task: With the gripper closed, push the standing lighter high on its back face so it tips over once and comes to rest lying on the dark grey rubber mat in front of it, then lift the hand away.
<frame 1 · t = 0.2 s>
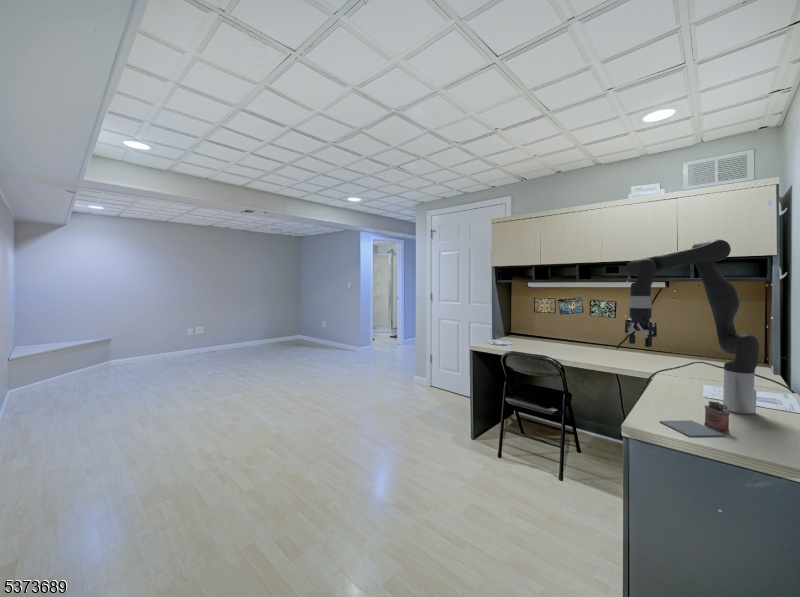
hand: (639, 345, 139), 29 cm above the table, tool pointing down, fingers open, 8 cm apart
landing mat: (690, 429, 124), on the table
lighter: (716, 429, 125), on the table
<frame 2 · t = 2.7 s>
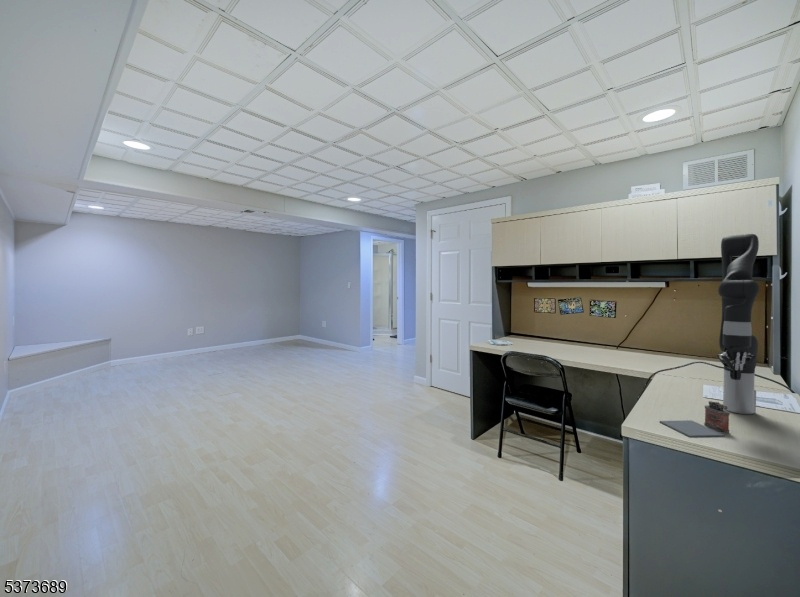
hand: (735, 379, 124), 19 cm above the table, tool pointing down, fingers closed
nothing on the table moved.
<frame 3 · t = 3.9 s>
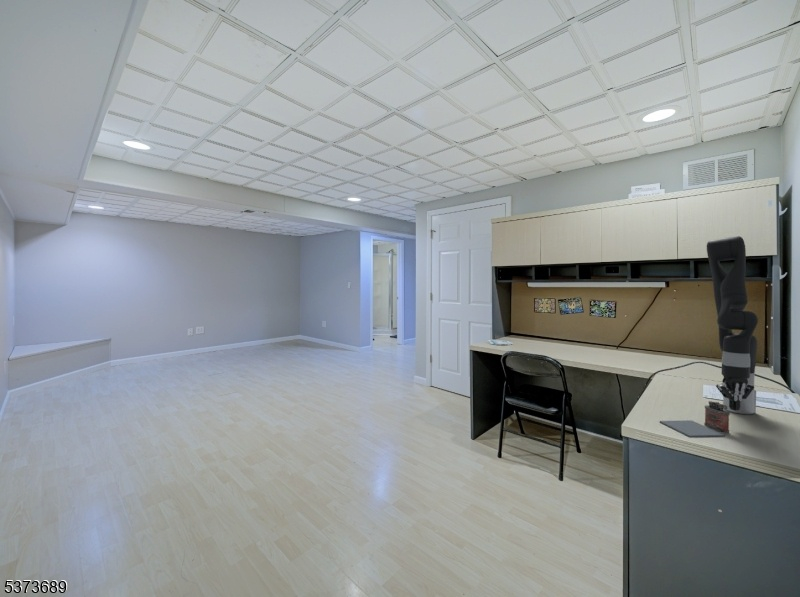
hand: (734, 409, 125), 7 cm above the table, tool pointing down, fingers closed
nothing on the table moved.
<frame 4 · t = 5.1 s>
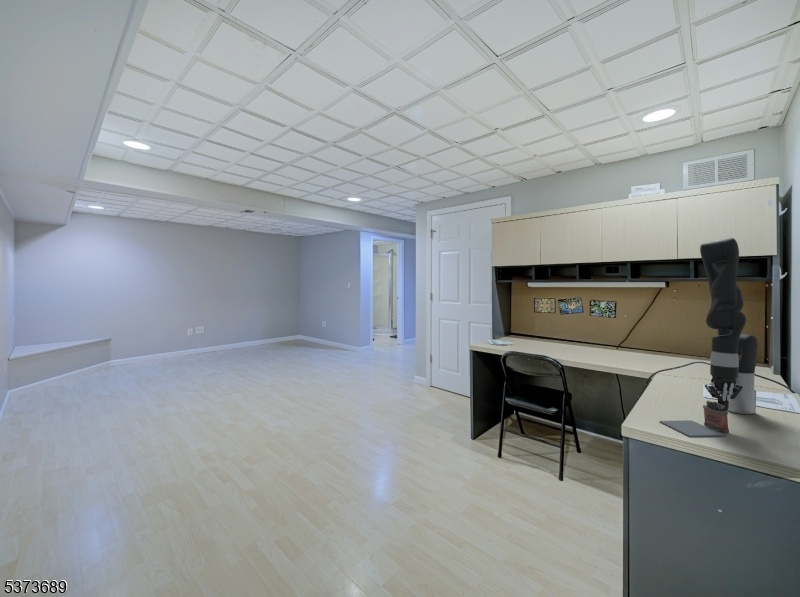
hand: (722, 409, 124), 7 cm above the table, tool pointing down, fingers closed
lighter: (716, 428, 125), on the table, touching gripper
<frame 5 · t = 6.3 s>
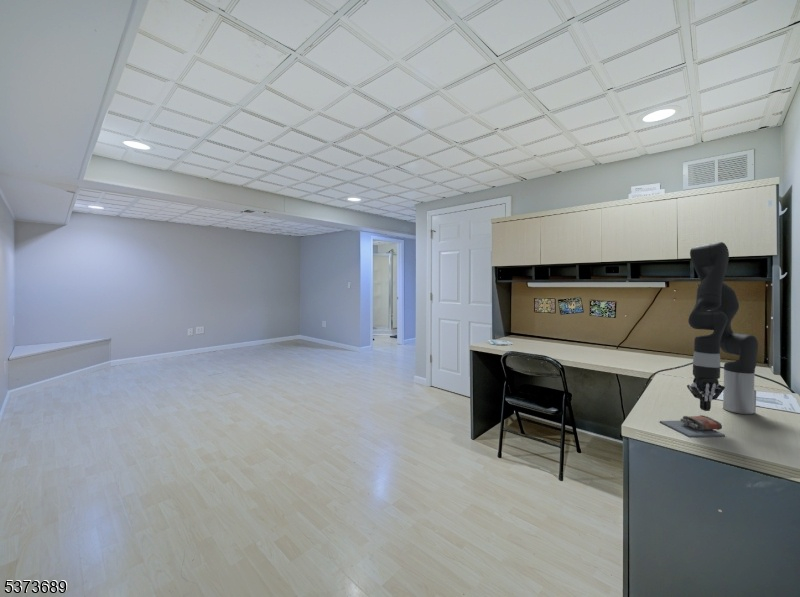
hand: (705, 410, 124), 7 cm above the table, tool pointing down, fingers closed
lighter: (711, 422, 125), point 2 cm above the table, touching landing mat
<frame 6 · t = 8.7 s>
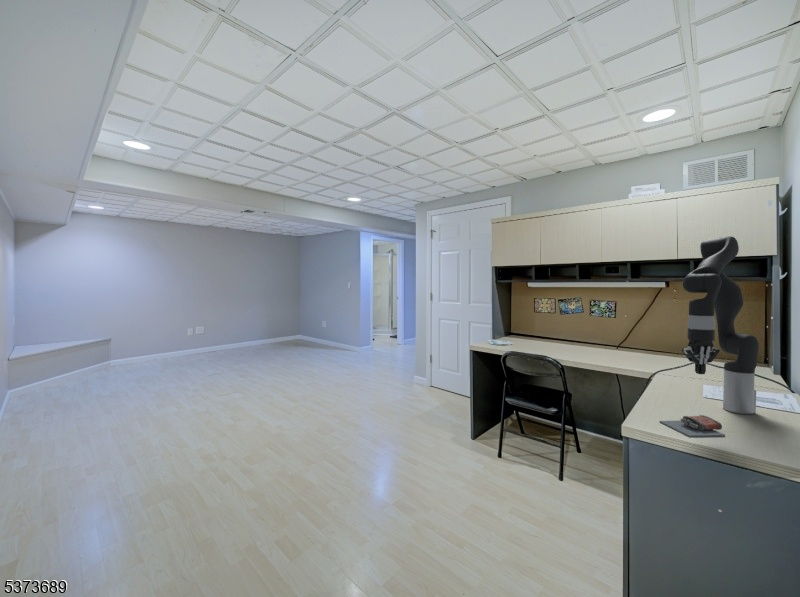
hand: (700, 373, 124), 21 cm above the table, tool pointing down, fingers closed
nothing on the table moved.
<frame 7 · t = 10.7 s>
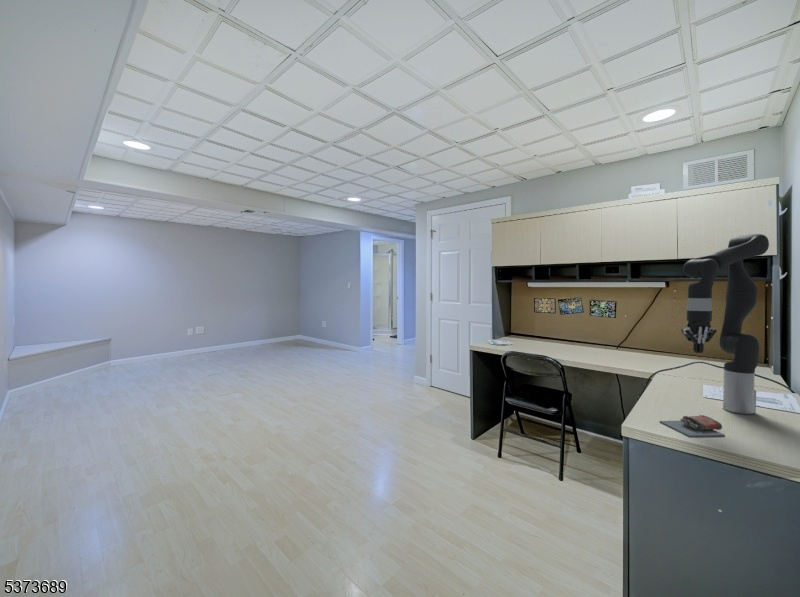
hand: (698, 352, 133), 27 cm above the table, tool pointing down, fingers closed
nothing on the table moved.
at the end: lighter tilted 90°; lighter touching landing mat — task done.
